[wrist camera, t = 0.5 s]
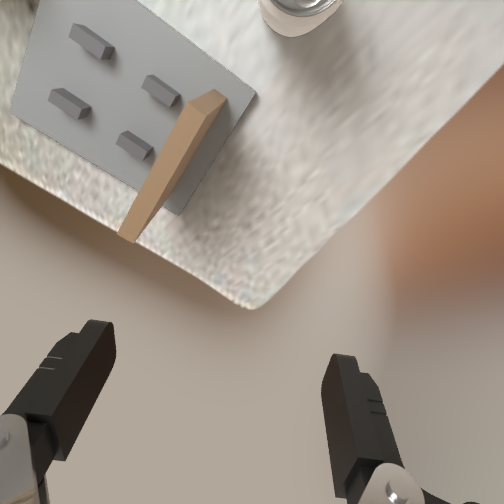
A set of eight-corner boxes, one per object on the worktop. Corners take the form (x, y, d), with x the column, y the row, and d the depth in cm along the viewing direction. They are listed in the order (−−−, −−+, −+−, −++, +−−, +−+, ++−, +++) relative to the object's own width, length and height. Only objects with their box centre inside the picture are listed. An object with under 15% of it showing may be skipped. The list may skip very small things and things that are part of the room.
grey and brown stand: (16, 110, 35) (-105, 134, 24) (64, -56, 28) (-77, -134, 17) (181, 211, 40) (144, 271, 29) (256, 91, 33) (247, 108, 22)
